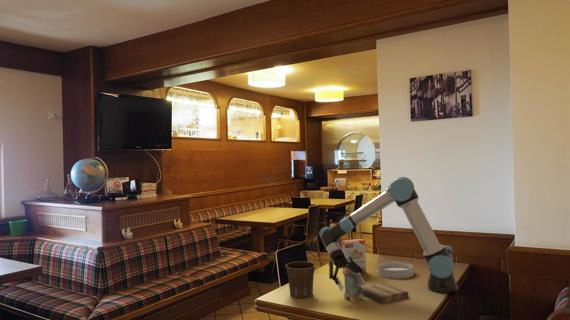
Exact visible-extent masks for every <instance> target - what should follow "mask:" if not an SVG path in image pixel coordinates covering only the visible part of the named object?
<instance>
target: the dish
mask: <svg viewBox="0 0 570 320" xmlns="http://www.w3.org/2000/svg"><path fill="white" fill-rule="evenodd" d="M376 266H377V267H376V268H377V269H376V271H377V273H376V274H377V275H378V276H380V277H383V278H388V279H407V278H410V277H413V276H414V274H415V271H414V265H413V264H411V263H408V262H405V261H383V262H380V263H378V264H377V265H376Z"/></svg>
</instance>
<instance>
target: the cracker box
mask: <svg viewBox="0 0 570 320" xmlns="http://www.w3.org/2000/svg"><path fill="white" fill-rule="evenodd" d="M341 250H342V251H343V253H344V255H345V258H346V259H349V257H351V258H352V260H353V261H354V262H355V263H356V264H357V265H358V266H360V267H361V268H362V269H363V271H362V273H361V274H366V273H367V263H366V262H367V258H366V240H365V239H363V238H357V239H347V240H341ZM352 272H353V271H351V270H350V269H348V268H342V273H343V275H344V274H347V273H352Z"/></svg>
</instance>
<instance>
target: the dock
mask: <svg viewBox="0 0 570 320" xmlns="http://www.w3.org/2000/svg"><path fill="white" fill-rule="evenodd" d="M361 288H362V294H363V297H366V298H368V299H371V300H372V301H375V302H377V303H378V304H379V303H380V304H385V303H386V304H387V303H388V302H393V301H398V300H402V299H405V298H409V292H408V290H404V289H402V288H399V287H396V286H393V285H391V284H388V283H385V282H381V283H376V284H371V285H367V286H361Z"/></svg>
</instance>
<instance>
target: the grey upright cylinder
mask: <svg viewBox="0 0 570 320" xmlns="http://www.w3.org/2000/svg"><path fill="white" fill-rule="evenodd" d="M343 276H344V293H343V299H344V300H349V301H350V302H351V303H355V302H358V301H359V302H360V301H363V300H364V296H363V294H362V285H361V275H360V274H358V273H355V272H352V273H347V274H344V273H343Z"/></svg>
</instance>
